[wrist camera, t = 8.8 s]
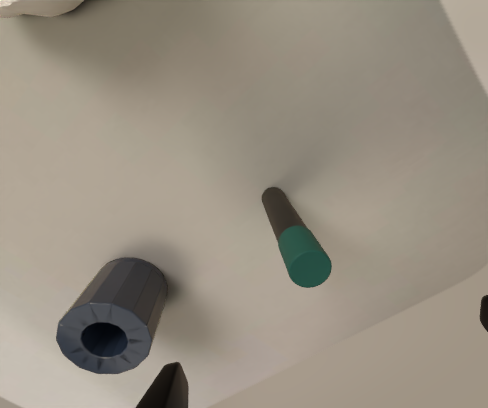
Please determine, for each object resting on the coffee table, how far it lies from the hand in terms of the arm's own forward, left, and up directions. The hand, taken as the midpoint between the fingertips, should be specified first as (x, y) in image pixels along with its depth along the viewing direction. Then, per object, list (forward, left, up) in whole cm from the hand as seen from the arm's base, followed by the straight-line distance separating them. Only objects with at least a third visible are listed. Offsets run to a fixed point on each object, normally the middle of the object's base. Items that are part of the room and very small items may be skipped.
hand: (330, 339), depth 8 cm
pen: (0, 0, -12) cm, 12 cm away
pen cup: (+8, +9, -12) cm, 17 cm away
